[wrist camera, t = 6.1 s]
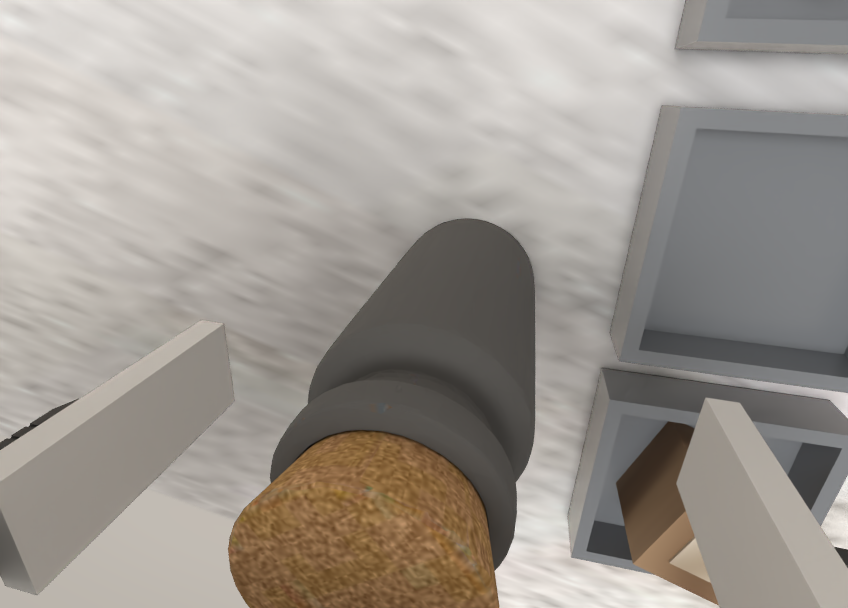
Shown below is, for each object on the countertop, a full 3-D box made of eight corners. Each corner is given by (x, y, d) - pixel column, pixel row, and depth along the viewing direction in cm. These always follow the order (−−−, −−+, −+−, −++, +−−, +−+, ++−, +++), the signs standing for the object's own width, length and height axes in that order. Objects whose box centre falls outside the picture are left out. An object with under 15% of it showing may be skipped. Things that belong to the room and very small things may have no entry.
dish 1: (609, 332, 21) (618, 361, 19) (661, 105, 17) (681, 107, 15) (847, 363, 19) (888, 398, 17) (961, 120, 16) (1033, 124, 13)
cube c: (615, 483, 23) (633, 566, 19) (671, 417, 21) (704, 494, 17) (700, 523, 23) (736, 616, 19) (763, 461, 21) (819, 549, 17)
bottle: (546, 328, 21) (569, 721, 8) (424, 348, 23) (272, 699, 10) (518, 201, 20) (485, 436, 6) (387, 234, 21) (135, 473, 8)
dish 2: (567, 516, 25) (570, 557, 23) (601, 368, 22) (609, 399, 19) (757, 553, 24) (780, 601, 22) (829, 400, 20) (866, 438, 18)
